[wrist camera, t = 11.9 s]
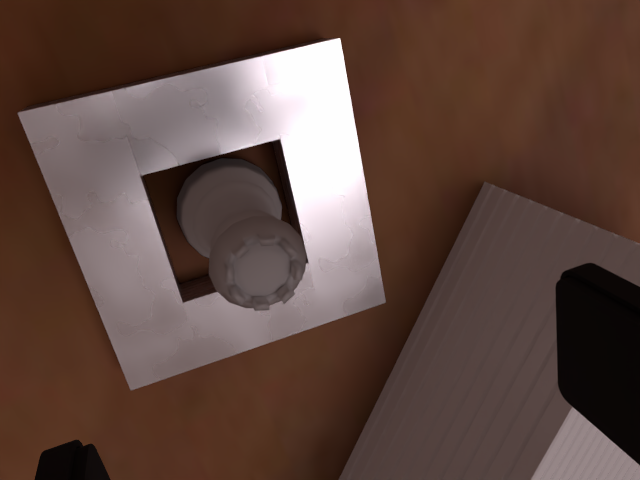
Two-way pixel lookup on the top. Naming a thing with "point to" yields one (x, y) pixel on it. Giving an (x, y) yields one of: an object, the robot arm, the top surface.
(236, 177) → the rook chess piece
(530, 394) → the long grey block
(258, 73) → the socket plate
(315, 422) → the top surface
